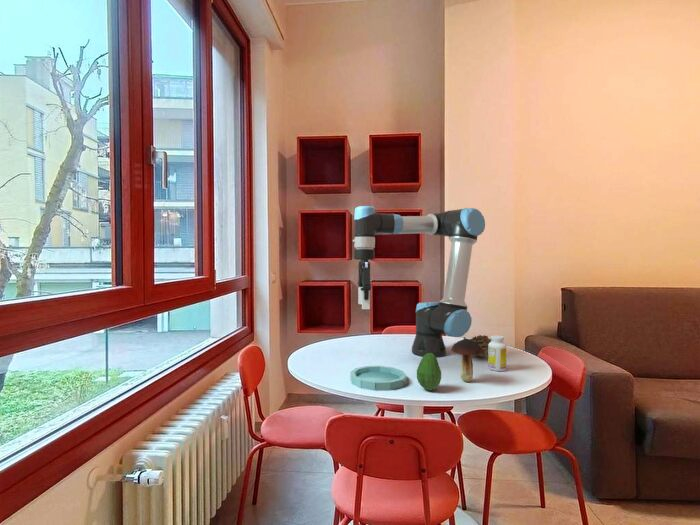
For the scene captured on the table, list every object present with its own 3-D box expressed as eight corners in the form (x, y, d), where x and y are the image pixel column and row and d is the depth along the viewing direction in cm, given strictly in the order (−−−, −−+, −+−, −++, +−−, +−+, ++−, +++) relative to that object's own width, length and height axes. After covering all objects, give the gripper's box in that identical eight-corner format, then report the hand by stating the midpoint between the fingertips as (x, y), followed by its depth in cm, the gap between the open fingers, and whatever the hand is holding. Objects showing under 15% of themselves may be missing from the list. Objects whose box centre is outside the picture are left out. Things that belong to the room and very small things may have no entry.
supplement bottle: (505, 367, 152) (506, 335, 152) (506, 372, 146) (507, 338, 146) (487, 366, 155) (488, 334, 154) (487, 370, 148) (488, 337, 148)
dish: (398, 371, 145) (398, 365, 145) (411, 389, 127) (411, 381, 126) (347, 373, 143) (348, 366, 143) (354, 391, 124) (354, 383, 124)
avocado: (437, 385, 131) (438, 350, 130) (443, 393, 123) (444, 356, 123) (414, 385, 130) (414, 350, 130) (418, 393, 123) (419, 356, 122)
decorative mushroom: (464, 388, 128) (465, 343, 128) (443, 378, 138) (444, 336, 138) (489, 384, 133) (490, 340, 132) (468, 375, 143) (468, 334, 142)
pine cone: (501, 360, 162) (502, 337, 162) (482, 362, 159) (483, 338, 159) (469, 348, 183) (470, 327, 183) (452, 350, 180) (452, 328, 180)
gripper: (351, 249, 154) (351, 302, 154) (357, 248, 129) (356, 311, 129) (370, 249, 154) (369, 302, 155) (379, 248, 129) (378, 311, 130)
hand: (363, 306), depth 142 cm, fingers open, 13 cm apart
